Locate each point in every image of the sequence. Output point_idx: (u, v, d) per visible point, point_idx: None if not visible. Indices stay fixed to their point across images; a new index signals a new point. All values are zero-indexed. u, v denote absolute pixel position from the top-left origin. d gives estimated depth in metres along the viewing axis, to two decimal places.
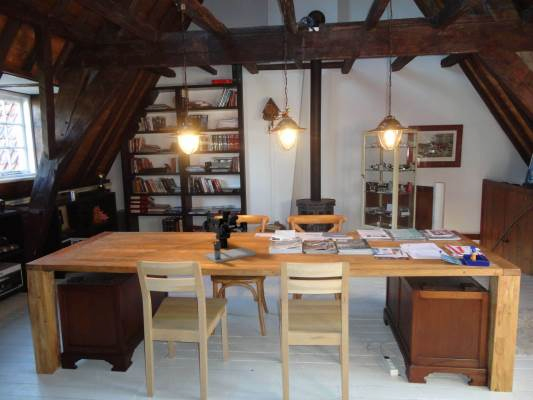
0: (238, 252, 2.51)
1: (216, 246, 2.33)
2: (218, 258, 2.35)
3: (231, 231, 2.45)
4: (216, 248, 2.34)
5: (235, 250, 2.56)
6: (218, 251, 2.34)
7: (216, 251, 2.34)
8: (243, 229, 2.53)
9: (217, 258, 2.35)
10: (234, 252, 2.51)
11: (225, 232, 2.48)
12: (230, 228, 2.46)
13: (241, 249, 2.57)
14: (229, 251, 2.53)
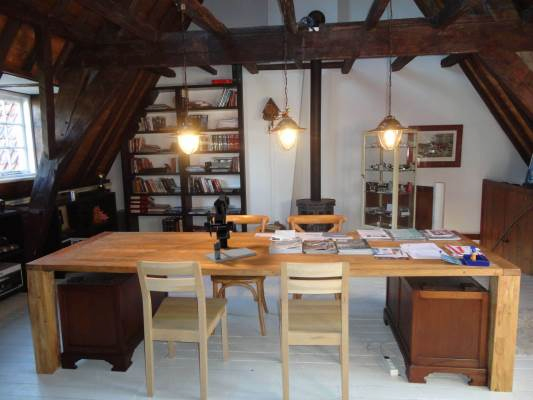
0: (238, 252, 2.51)
1: (216, 246, 2.33)
2: (218, 258, 2.35)
3: (210, 234, 2.44)
4: (216, 248, 2.34)
5: (235, 250, 2.56)
6: (218, 251, 2.34)
7: (216, 251, 2.34)
8: None
9: (217, 258, 2.35)
10: (234, 252, 2.51)
11: (207, 229, 2.47)
12: (210, 231, 2.43)
13: (241, 249, 2.57)
14: (229, 251, 2.53)
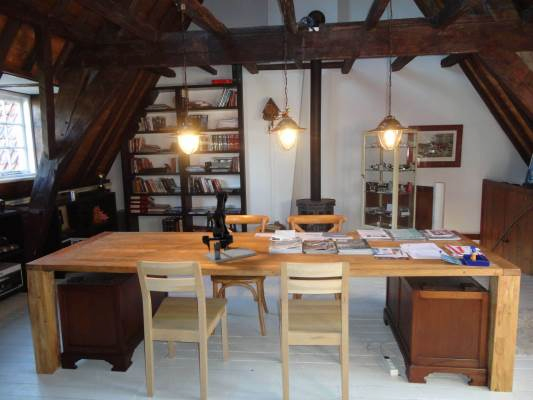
0: (238, 252, 2.51)
1: (216, 246, 2.33)
2: (218, 258, 2.35)
3: None
4: (216, 248, 2.34)
5: (235, 250, 2.56)
6: (218, 251, 2.34)
7: (216, 251, 2.34)
8: None
9: (217, 258, 2.35)
10: (234, 252, 2.51)
11: (206, 243, 2.40)
12: (208, 245, 2.36)
13: (241, 249, 2.57)
14: (229, 251, 2.53)
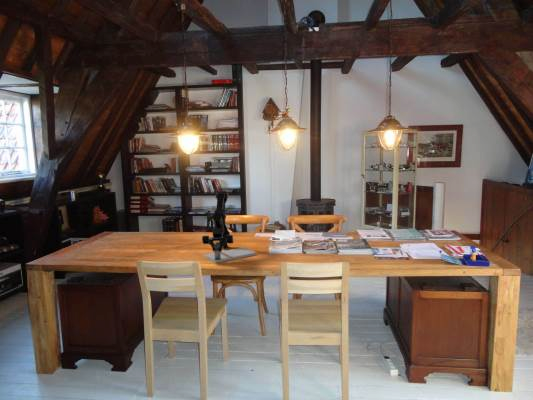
0: (238, 252, 2.51)
1: (216, 246, 2.33)
2: (218, 258, 2.35)
3: None
4: (216, 248, 2.34)
5: (235, 250, 2.56)
6: (218, 251, 2.34)
7: (216, 251, 2.34)
8: None
9: (217, 258, 2.35)
10: (234, 252, 2.51)
11: (210, 243, 2.40)
12: (212, 245, 2.36)
13: (241, 249, 2.57)
14: (229, 251, 2.53)
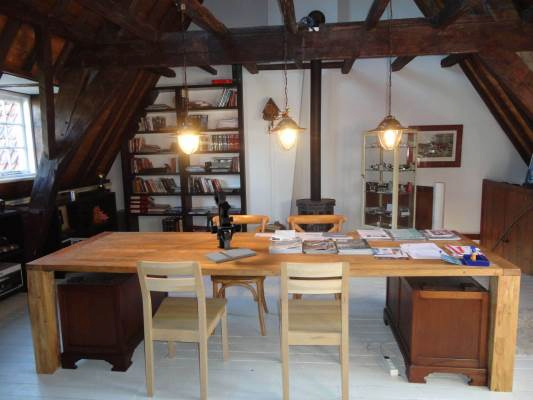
0: (238, 252, 2.51)
1: (227, 235, 2.36)
2: (229, 247, 2.38)
3: (222, 238, 2.38)
4: (227, 237, 2.37)
5: (235, 250, 2.56)
6: (228, 240, 2.37)
7: (227, 240, 2.37)
8: None
9: (228, 247, 2.38)
10: (234, 252, 2.51)
11: (218, 233, 2.42)
12: (222, 234, 2.38)
13: (241, 249, 2.57)
14: (229, 251, 2.53)
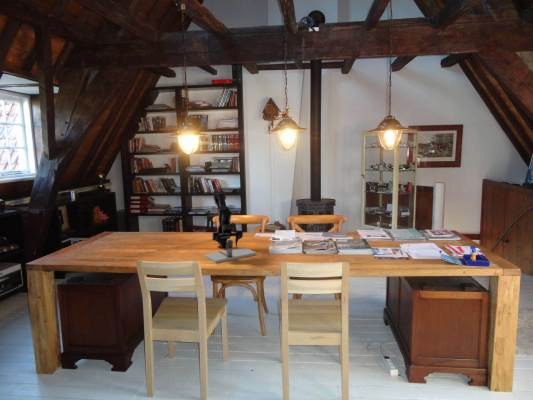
0: (238, 252, 2.51)
1: (229, 244, 2.38)
2: (230, 255, 2.39)
3: (220, 245, 2.39)
4: (229, 246, 2.38)
5: (235, 250, 2.56)
6: (230, 249, 2.39)
7: (229, 249, 2.38)
8: (235, 240, 2.43)
9: (229, 255, 2.39)
10: (234, 252, 2.51)
11: (216, 240, 2.42)
12: (220, 241, 2.39)
13: (241, 249, 2.57)
14: None
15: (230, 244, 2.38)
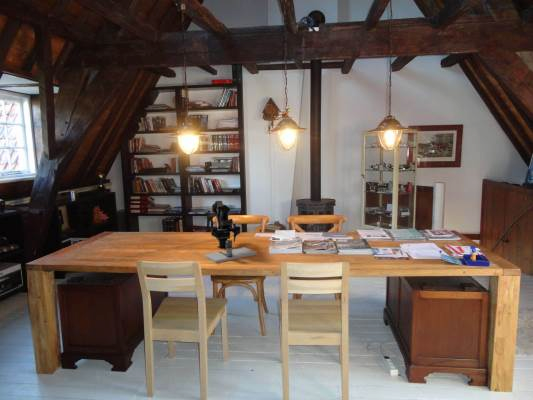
0: (238, 252, 2.51)
1: (229, 244, 2.38)
2: (230, 255, 2.39)
3: (218, 240, 2.48)
4: (229, 246, 2.38)
5: (235, 250, 2.56)
6: (230, 249, 2.39)
7: (228, 249, 2.38)
8: None
9: (229, 256, 2.39)
10: (234, 252, 2.51)
11: (214, 235, 2.51)
12: (218, 236, 2.48)
13: (241, 249, 2.57)
14: None
15: (229, 244, 2.38)
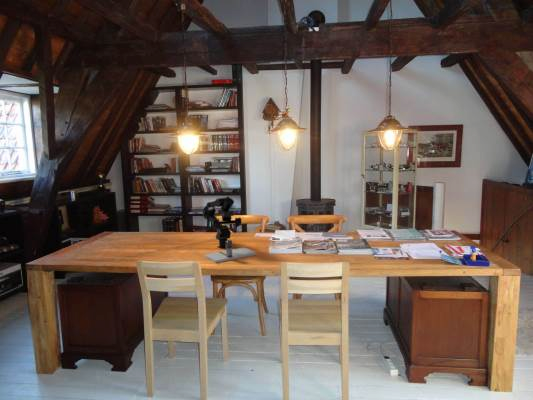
0: (238, 252, 2.51)
1: (229, 244, 2.38)
2: (230, 255, 2.39)
3: (219, 231, 2.51)
4: (229, 246, 2.38)
5: (235, 250, 2.56)
6: (230, 249, 2.39)
7: (228, 249, 2.38)
8: None
9: (229, 255, 2.39)
10: (234, 252, 2.51)
11: (216, 227, 2.54)
12: (220, 228, 2.51)
13: (241, 249, 2.57)
14: None
15: (229, 244, 2.38)
